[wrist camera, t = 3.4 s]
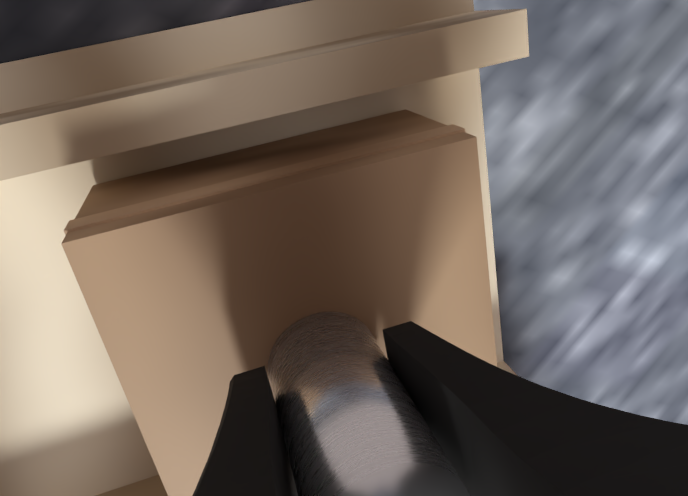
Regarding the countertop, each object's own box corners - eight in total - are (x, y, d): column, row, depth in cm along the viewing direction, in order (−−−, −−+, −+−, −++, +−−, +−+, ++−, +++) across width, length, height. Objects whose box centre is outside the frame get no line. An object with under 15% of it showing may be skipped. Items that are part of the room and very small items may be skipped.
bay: (-98, 591, 18) (-159, 715, 14) (-429, 151, 12) (-648, 197, 9) (493, 391, 21) (548, 456, 18) (453, -29, 15) (524, -42, 12)
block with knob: (189, 442, 17) (195, 797, 9) (90, 183, 14) (-31, 395, 6) (442, 360, 18) (633, 609, 10) (407, 107, 15) (648, 197, 7)
